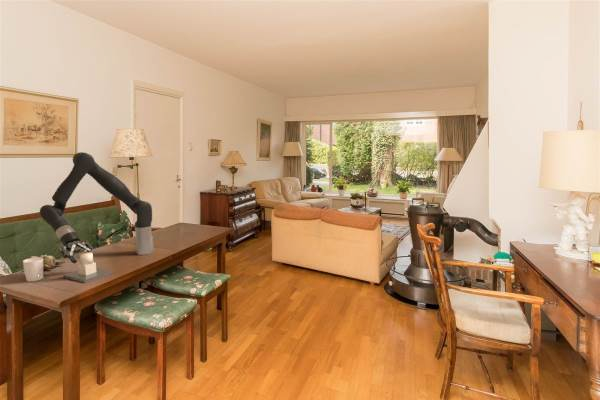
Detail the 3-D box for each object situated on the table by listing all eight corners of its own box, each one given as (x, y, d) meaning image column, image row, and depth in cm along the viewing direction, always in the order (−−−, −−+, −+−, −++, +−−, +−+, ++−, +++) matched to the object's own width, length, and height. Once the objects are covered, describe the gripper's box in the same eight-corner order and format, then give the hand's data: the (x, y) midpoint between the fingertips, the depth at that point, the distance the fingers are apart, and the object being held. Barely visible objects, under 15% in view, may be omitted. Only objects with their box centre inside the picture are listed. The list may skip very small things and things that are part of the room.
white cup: (28, 277, 169) (26, 258, 168) (47, 275, 172) (45, 256, 171) (21, 282, 162) (19, 262, 161) (41, 281, 165) (39, 261, 163)
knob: (89, 270, 176) (87, 251, 174) (96, 272, 174) (95, 252, 172) (78, 273, 171) (76, 254, 169) (85, 275, 168) (84, 255, 167)
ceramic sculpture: (37, 250, 186) (66, 251, 187) (38, 265, 187) (66, 266, 189) (23, 256, 176) (54, 257, 177) (24, 272, 177) (54, 273, 178)
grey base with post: (90, 269, 182) (89, 258, 181) (111, 273, 176) (110, 262, 175) (63, 277, 169) (62, 266, 168) (85, 282, 163) (84, 270, 162)
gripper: (56, 234, 167) (73, 259, 164) (83, 228, 180) (100, 252, 177) (50, 243, 170) (66, 268, 167) (77, 237, 183) (93, 260, 180)
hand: (83, 260), depth 172 cm, fingers open, 8 cm apart
